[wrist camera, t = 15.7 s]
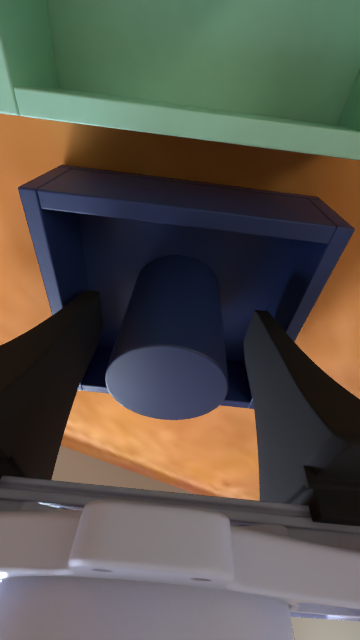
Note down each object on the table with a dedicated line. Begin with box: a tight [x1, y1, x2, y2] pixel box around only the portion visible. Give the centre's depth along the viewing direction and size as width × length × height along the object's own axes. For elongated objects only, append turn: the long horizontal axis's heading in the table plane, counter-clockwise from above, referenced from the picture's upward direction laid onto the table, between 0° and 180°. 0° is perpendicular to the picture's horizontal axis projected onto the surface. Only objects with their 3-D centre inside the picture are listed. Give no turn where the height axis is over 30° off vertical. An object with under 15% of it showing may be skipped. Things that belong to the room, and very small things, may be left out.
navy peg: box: [105, 255, 229, 420], centre depth 12 cm, size 4×4×6 cm
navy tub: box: [18, 165, 355, 409], centre depth 13 cm, size 11×11×4 cm
